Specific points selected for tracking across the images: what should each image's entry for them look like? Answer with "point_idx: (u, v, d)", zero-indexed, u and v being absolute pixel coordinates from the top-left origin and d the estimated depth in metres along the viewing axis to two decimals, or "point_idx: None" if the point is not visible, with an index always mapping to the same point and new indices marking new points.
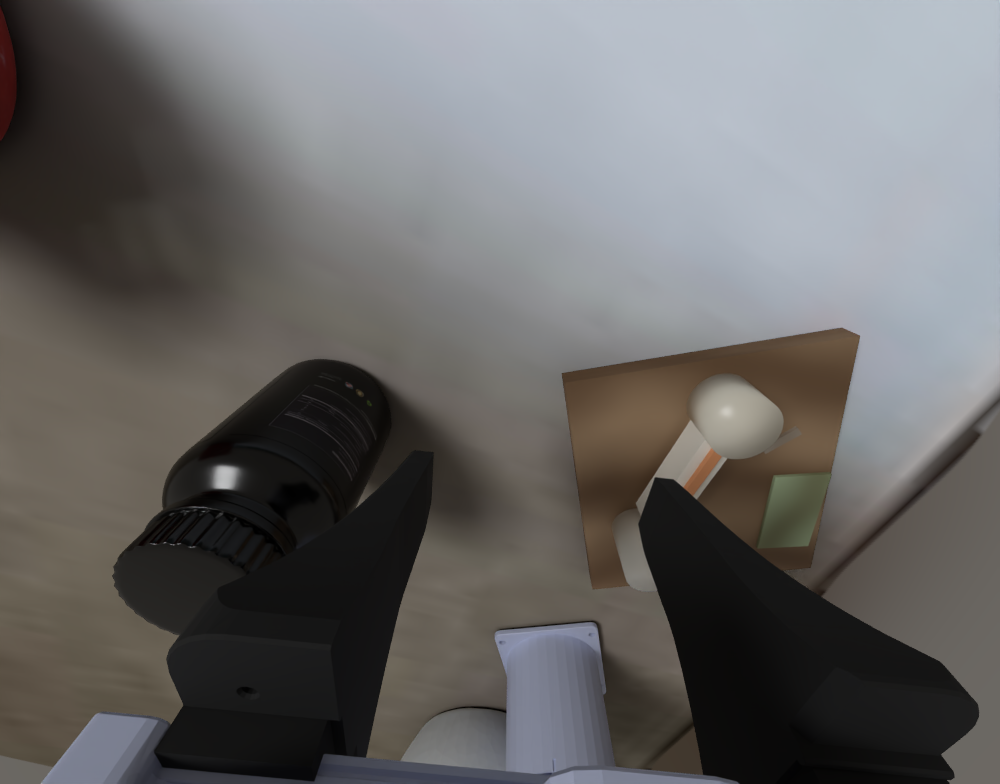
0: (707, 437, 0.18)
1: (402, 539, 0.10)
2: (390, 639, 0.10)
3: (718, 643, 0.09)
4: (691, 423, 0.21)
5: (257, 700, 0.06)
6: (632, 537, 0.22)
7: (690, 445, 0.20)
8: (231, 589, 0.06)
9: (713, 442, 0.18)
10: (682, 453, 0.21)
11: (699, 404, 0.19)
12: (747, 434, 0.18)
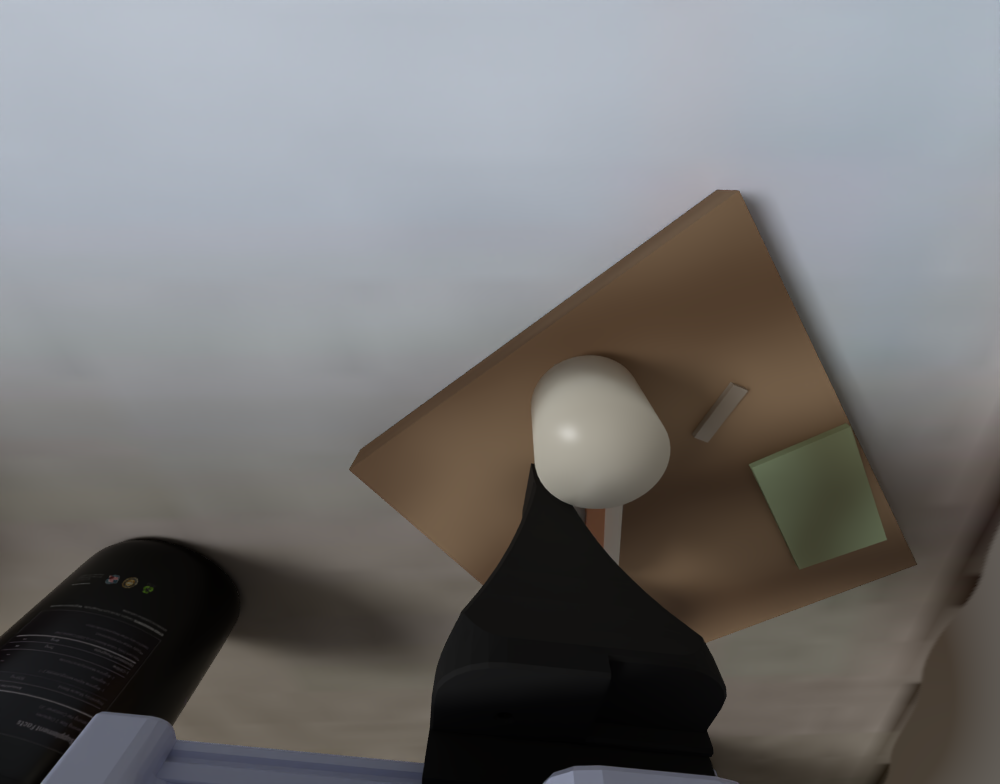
0: (548, 489, 0.10)
1: None
2: None
3: None
4: None
5: (510, 725, 0.06)
6: None
7: None
8: (477, 614, 0.06)
9: (562, 494, 0.10)
10: None
11: (532, 430, 0.11)
12: (611, 464, 0.10)
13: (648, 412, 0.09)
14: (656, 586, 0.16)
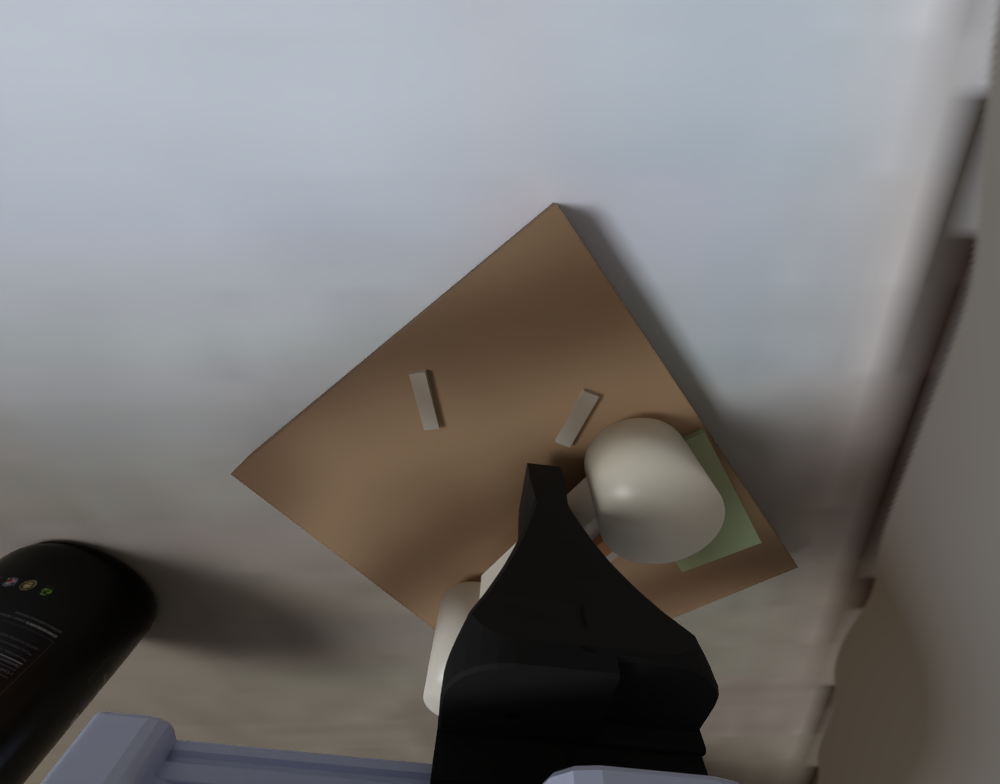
0: (598, 517, 0.11)
1: None
2: None
3: None
4: (586, 482, 0.13)
5: (518, 725, 0.06)
6: (455, 632, 0.14)
7: None
8: (485, 615, 0.06)
9: (605, 528, 0.11)
10: None
11: (602, 457, 0.12)
12: (662, 529, 0.11)
13: (723, 511, 0.10)
14: None
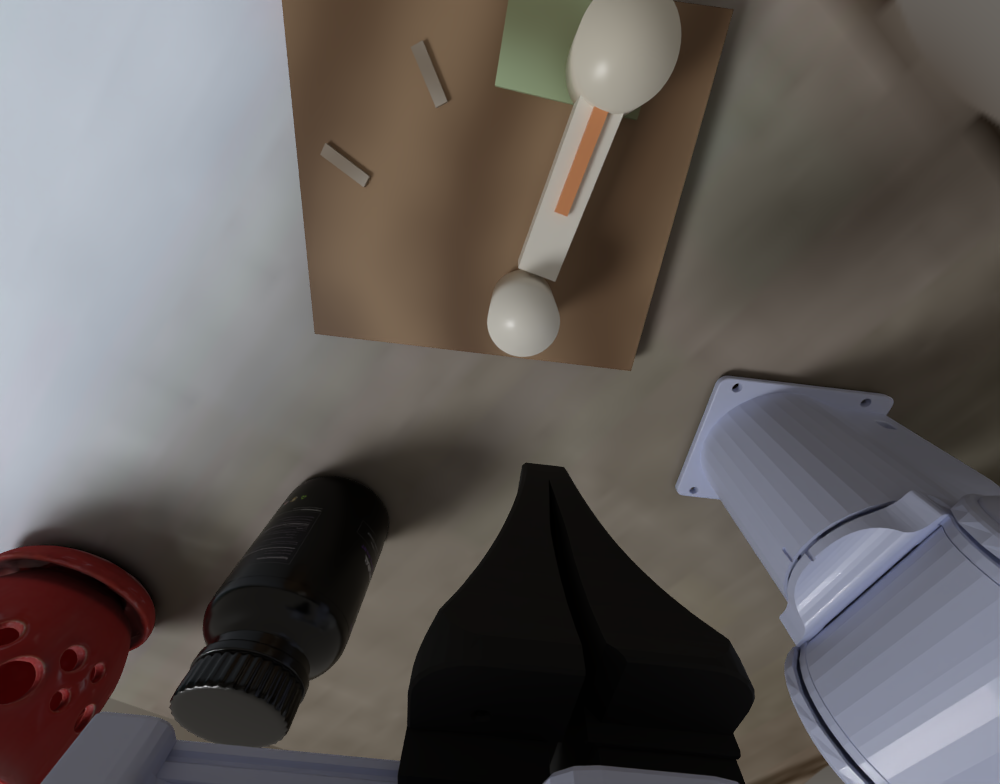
0: (575, 68, 0.13)
1: None
2: None
3: None
4: (573, 105, 0.15)
5: (487, 723, 0.06)
6: (503, 285, 0.16)
7: (568, 125, 0.15)
8: (454, 612, 0.06)
9: (583, 75, 0.13)
10: (560, 145, 0.15)
11: (572, 43, 0.14)
12: (631, 57, 0.13)
13: (676, 12, 0.12)
14: None
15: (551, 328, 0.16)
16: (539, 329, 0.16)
